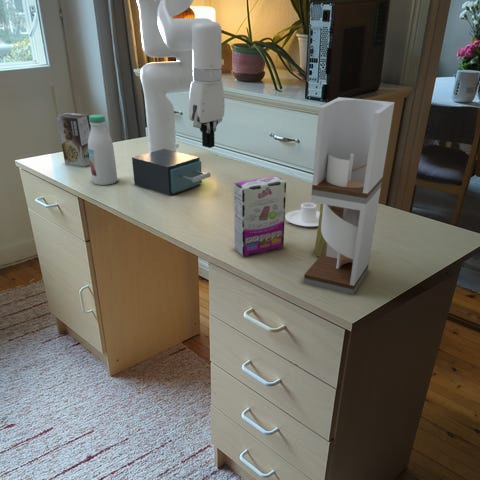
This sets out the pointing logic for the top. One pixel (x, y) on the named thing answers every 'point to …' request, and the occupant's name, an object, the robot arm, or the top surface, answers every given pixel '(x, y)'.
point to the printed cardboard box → (74, 138)
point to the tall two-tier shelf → (348, 187)
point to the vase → (320, 238)
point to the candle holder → (304, 215)
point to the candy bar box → (259, 215)
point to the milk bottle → (101, 152)
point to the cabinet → (159, 169)
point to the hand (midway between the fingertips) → (208, 146)
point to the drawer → (186, 176)
